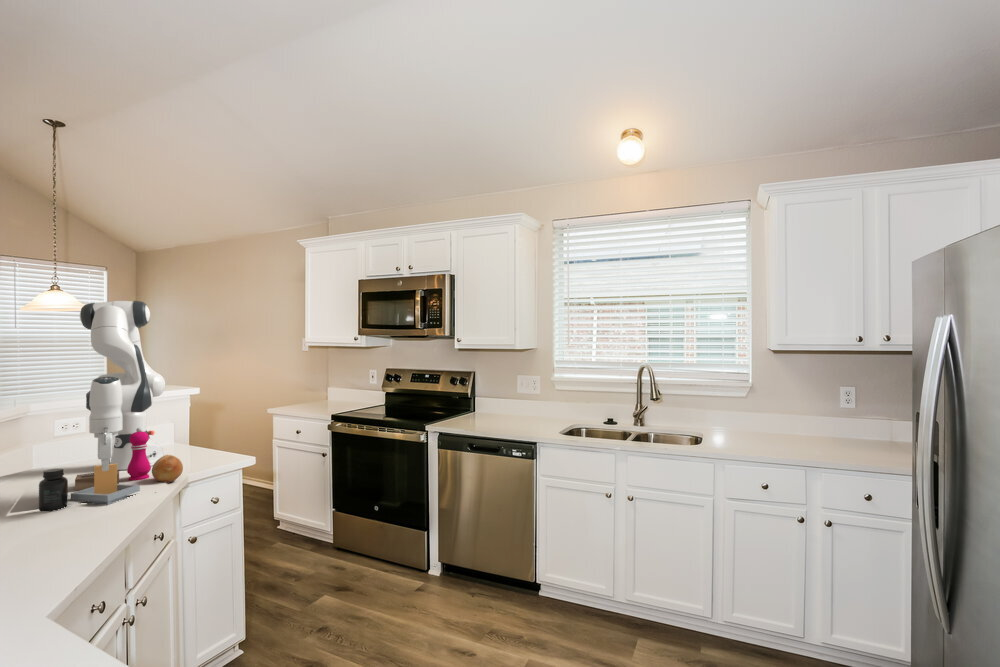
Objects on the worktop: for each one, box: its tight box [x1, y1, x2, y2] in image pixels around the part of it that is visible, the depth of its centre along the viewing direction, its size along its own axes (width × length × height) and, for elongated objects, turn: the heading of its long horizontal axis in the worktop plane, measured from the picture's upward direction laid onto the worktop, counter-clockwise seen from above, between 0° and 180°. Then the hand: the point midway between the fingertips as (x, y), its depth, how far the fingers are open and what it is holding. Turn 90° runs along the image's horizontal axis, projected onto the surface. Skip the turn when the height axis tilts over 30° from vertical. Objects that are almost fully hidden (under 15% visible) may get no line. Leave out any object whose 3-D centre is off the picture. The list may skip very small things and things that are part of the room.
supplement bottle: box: [38, 467, 69, 512], centre depth 162 cm, size 7×7×12 cm
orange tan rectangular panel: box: [93, 464, 117, 494], centre depth 172 cm, size 1×6×10 cm, turn 125°
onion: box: [151, 454, 184, 484], centre depth 191 cm, size 10×10×10 cm
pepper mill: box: [126, 427, 152, 482], centre depth 193 cm, size 7×7×20 cm
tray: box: [70, 483, 141, 506], centre depth 172 cm, size 12×14×3 cm
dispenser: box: [74, 470, 120, 492], centre depth 183 cm, size 8×12×6 cm, turn 125°
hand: (106, 467), depth 172 cm, fingers open, 8 cm apart
